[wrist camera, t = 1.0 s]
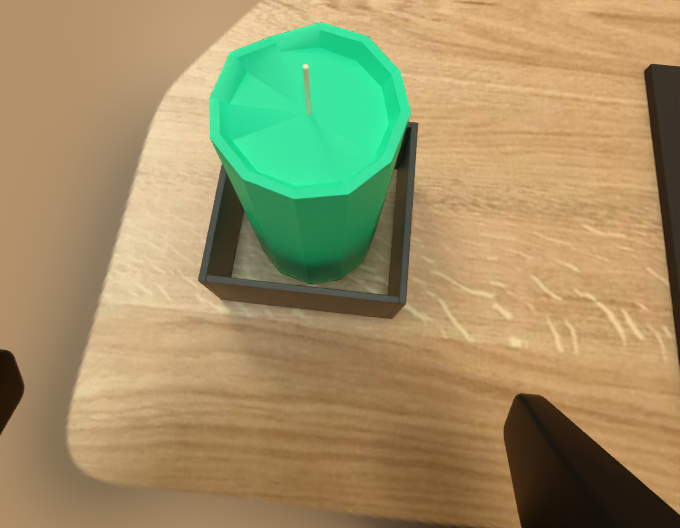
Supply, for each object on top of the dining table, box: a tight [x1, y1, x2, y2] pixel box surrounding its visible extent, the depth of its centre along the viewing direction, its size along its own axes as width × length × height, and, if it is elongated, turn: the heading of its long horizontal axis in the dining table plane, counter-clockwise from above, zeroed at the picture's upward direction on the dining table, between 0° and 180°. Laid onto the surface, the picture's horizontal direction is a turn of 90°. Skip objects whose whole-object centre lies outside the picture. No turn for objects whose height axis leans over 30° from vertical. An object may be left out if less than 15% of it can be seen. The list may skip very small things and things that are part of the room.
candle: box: [209, 22, 411, 284], centre depth 17 cm, size 6×6×12 cm
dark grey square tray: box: [198, 122, 418, 319], centre depth 21 cm, size 9×9×4 cm
